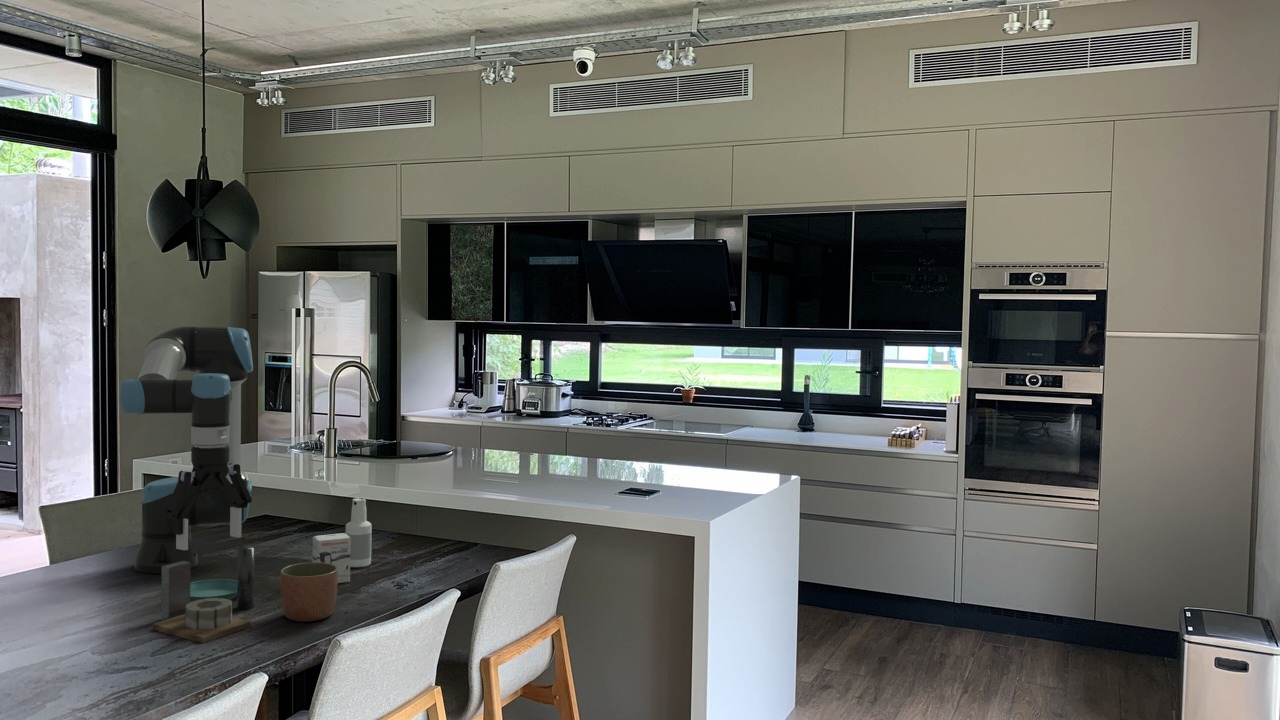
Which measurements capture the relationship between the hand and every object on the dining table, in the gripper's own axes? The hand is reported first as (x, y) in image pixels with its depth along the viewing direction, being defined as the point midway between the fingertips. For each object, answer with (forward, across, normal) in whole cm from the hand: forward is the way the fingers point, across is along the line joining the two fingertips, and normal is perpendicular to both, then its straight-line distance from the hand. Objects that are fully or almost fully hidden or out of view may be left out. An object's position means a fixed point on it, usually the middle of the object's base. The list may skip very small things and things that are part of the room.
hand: (209, 542), depth 208 cm
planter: (+19, +17, -12) cm, 28 cm away
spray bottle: (+19, +56, +10) cm, 60 cm away
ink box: (+19, +40, +4) cm, 44 cm away
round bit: (+19, +14, +5) cm, 24 cm away
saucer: (+19, +15, +18) cm, 30 cm away
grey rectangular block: (+19, +1, +12) cm, 22 cm away
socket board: (+19, -1, +1) cm, 19 cm away
